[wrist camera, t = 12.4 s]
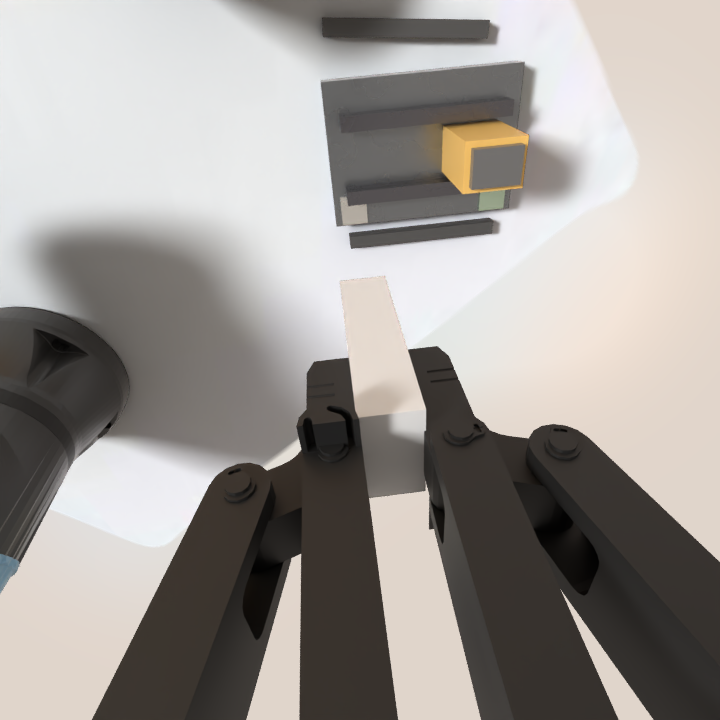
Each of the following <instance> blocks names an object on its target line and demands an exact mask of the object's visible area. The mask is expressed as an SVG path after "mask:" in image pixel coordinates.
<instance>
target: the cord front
mask: <svg viewBox="0 0 720 720" xmlns="http://www.w3.org/2000/svg"><path fill="white" fill-rule="evenodd" d="M489 23H490V20H457V19H379V18H322V26H323V37H392V38H487V37H488V30H489Z"/></svg>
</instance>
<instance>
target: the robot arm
mask: <svg viewBox="0 0 720 720" xmlns="http://www.w3.org/2000/svg"><path fill="white" fill-rule="evenodd" d="M340 288H341V296H342V305H343V314H344V323H345V331H346V340H347V349H348V357H349V358H342V359H333V360H325V361H316V362H314V363H313V364H312V366H311V368H310V369H309V371H308V373H307V410H306V411H305V412H304V413H303V414H302V415H301V416H300V417H299V420H298V423H297V431H298V435H299V440H300V444H301V449H302V450H301V451H300V452H299V454H298V455H297V456H296V457H294V458H293V459H292V460H290V461H289V462H287V463H285V464H283V465H281V466H278V467H276V468H273V469H270V470H268V471H267V470H265V469H264V468H263V467H262V466H260V465H256V464H252V463H243V464H237V465H234V466H232V467H229V468H226V469H225V470H224V471H222V472H221V473H220V474H218V475H217V476H216V477H215V478H214V480H213V481H212V482H211V484H210V485H209V487H208V489H207V491H206V493H205V495H204V497H203V499H202V501H201V503H200V505H199V507H198V509H197V511H196V513H195V515H194V517H193V519H192V521H191V523H190V525H189V527H188V529H187V531H186V533H185V535H184V537H183V539H182V541H181V543H180V545H179V547H178V549H177V551H176V553H175V555H174V557H173V559H172V561H171V563H170V565H169V567H168V569H167V571H166V573H165V575H164V577H163V579H162V581H161V583H160V585H159V587H158V589H157V591H156V593H155V595H154V597H153V599H152V601H151V603H150V605H149V607H148V609H147V611H146V613H145V615H144V617H143V619H142V621H141V623H140V625H139V627H138V629H137V631H136V633H135V635H134V637H133V639H132V641H131V643H130V645H129V647H128V649H127V651H126V653H125V655H124V657H123V659H122V661H121V663H120V665H119V667H118V669H117V671H116V673H115V675H114V677H113V679H112V681H111V683H110V685H109V687H108V689H107V691H106V693H105V695H104V697H103V699H102V701H101V703H100V705H99V707H98V709H97V711H96V713H95V715H94V717H93V719H92V720H246V718H247V715H248V711H249V707H250V704H251V701H252V697H253V693H254V690H255V686H256V683H257V679H258V676H259V672H260V669H261V665H262V661H263V658H264V654H265V651H266V647H267V644H268V640H269V637H270V633H271V630H272V626H273V623H274V619H275V615H276V612H277V608H278V605H279V601H280V598H281V594H282V590H283V587H284V583H285V580H286V577H287V573H288V569H289V566H290V562H291V558H292V557H295V556H297V555H299V554H301V632H300V634H301V635H300V637H301V638H300V639H301V640H300V720H398V716H397V708H396V701H395V693H394V686H393V678H392V670H391V663H390V656H389V648H388V640H387V633H386V625H385V618H384V610H383V602H382V594H381V587H380V580H379V571H378V564H377V557H376V549H375V542H374V533H373V526H372V518H371V511H370V503H369V498H373V497H381V496H389V495H397V494H404V493H413V492H420V491H425V480H426V484H427V488H428V491H429V495H430V497H429V529H434V530H435V535H436V538H437V542H438V546H439V550H440V555H441V558H442V563H443V567H444V571H445V575H446V579H447V583H448V587H449V591H450V595H451V599H452V603H453V607H454V611H455V615H456V620H457V624H458V627H459V632H460V636H461V640H462V644H463V648H464V652H465V656H466V660H467V664H468V668H469V672H470V676H471V680H472V684H473V688H474V692H475V697H476V700H477V705H478V709H479V713H480V717H481V720H618V717H617V715H616V713H615V711H614V709H613V706H612V704H611V702H610V700H609V697H608V695H607V693H606V691H605V688H604V686H603V684H602V682H601V679H600V677H599V675H598V673H597V671H596V668H595V666H594V664H593V661H592V659H591V657H590V655H589V652H588V650H587V648H586V646H585V643H584V641H583V639H582V637H581V634H580V632H579V630H578V628H577V625H576V623H575V621H574V619H573V616H572V614H571V612H570V610H569V607H568V605H567V603H566V601H565V598H564V596H563V594H562V592H563V593H564V595H565V596H566V597H567V599H568V600H569V602H570V603H571V604H572V606H573V607H574V609H575V610H576V611H577V613H578V614H579V616H580V617H581V618H582V620H583V621H584V623H585V624H586V625H587V627H588V628H589V630H590V631H591V632H592V634H593V635H594V637H595V638H596V639H597V641H598V642H599V644H600V645H601V646H602V648H603V649H604V651H605V652H606V653H607V655H608V656H609V658H610V659H611V661H612V662H613V663H614V665H615V666H616V668H617V669H618V670H619V672H620V673H621V675H622V676H623V677H624V679H625V680H626V681H627V683H628V684H629V686H630V687H631V689H632V690H633V691H634V693H635V694H636V696H637V697H638V698H639V700H640V701H641V702H642V704H643V705H644V707H645V708H646V710H647V711H648V712H649V714H650V715H651V717H652V718H653V719H654V720H720V562H719V561H718V560H717V559H716V558H715V557H714V556H713V555H712V554H711V553H710V552H708V551H707V550H706V549H705V548H704V547H703V546H702V545H701V544H700V543H699V542H698V541H697V540H696V539H694V537H693V536H692V535H690V534H689V533H688V532H687V531H686V530H685V529H684V528H683V527H682V526H681V525H680V524H679V523H678V522H677V521H676V520H675V519H674V518H673V517H672V516H670V515H669V514H668V513H667V512H666V511H665V510H664V509H663V508H662V507H661V506H660V505H659V504H658V503H657V502H656V501H655V500H654V499H653V498H651V497H650V496H649V495H648V494H647V493H646V492H645V491H644V490H643V489H642V488H641V487H640V486H639V485H638V484H637V483H636V482H634V481H633V480H632V479H631V478H630V477H629V476H628V475H627V474H626V473H625V472H624V471H623V470H622V469H621V468H620V467H619V466H618V465H617V464H616V463H614V461H612V460H611V459H610V458H609V457H608V456H607V455H606V454H605V453H604V452H603V451H602V450H601V449H600V448H599V447H598V446H597V445H596V444H595V443H593V442H592V441H591V440H590V439H589V438H588V437H587V436H585V435H584V434H583V433H581V432H579V431H578V430H576V429H573V428H571V427H568V426H563V425H556V424H552V425H545V426H541V427H539V428H538V429H536V430H534V431H533V433H532V434H531V436H530V437H529V439H527V438H520V437H512V436H506V435H500V434H498V433H495V432H492V431H490V430H489V429H488V428H487V426H486V425H485V424H484V423H483V422H482V421H480V420H479V419H477V418H476V417H475V416H474V414H473V412H472V409H471V407H470V405H469V403H468V400H467V398H466V396H465V393H464V391H463V388H462V386H461V384H460V381H459V380H458V377H457V374H456V372H455V370H454V367H453V365H452V363H451V360H450V358H449V356H448V355H447V354H446V353H445V352H443V351H442V350H441V349H440V348H439V347H437V346H436V347H426V348H418V349H409V350H408V349H407V346H406V342H405V339H404V336H403V333H402V329H401V326H400V323H399V320H398V316H397V313H396V310H395V307H394V303H393V300H392V297H391V294H390V290H389V287H388V284H387V281H386V277H385V276H379V277H370V278H361V279H352V280H343V281H340ZM128 396H129V381H128V376H127V373H126V370H125V368H124V366H123V364H122V362H121V361H120V359H119V358H118V356H117V355H116V353H115V352H114V351H113V350H112V349H111V348H110V347H109V345H108V344H107V343H105V342H104V341H103V340H102V339H101V338H100V337H98V336H97V335H96V334H95V333H93V332H92V331H90V330H89V329H87V328H86V327H84V326H82V325H80V324H79V323H77V322H75V321H73V320H70V319H68V318H66V317H63V316H61V315H58V314H55V313H51V312H48V311H44V310H39V309H33V308H24V307H6V308H0V593H1V592H2V590H3V588H4V587H5V585H6V584H7V582H8V580H9V578H10V577H11V576H13V575H14V574H15V573H16V572H17V569H18V567H19V564H20V562H21V560H22V558H23V557H24V555H25V553H26V551H27V549H28V547H29V545H30V543H31V541H32V539H33V537H34V536H35V534H36V532H37V530H38V528H39V526H40V524H41V522H42V520H43V518H44V516H45V514H46V512H47V511H48V509H49V507H50V505H51V503H52V501H53V499H54V497H55V495H56V493H57V491H58V489H59V487H60V486H61V484H62V482H63V480H64V478H65V476H66V474H67V472H68V470H69V468H70V466H71V465H72V463H73V461H74V460H75V459H76V458H78V457H79V456H80V455H81V454H82V453H83V452H85V451H86V450H87V449H88V448H89V447H91V446H92V445H93V444H94V443H95V442H96V441H97V440H98V439H99V438H101V437H102V436H103V435H105V434H106V433H107V432H108V431H109V430H110V429H111V428H112V427H113V426H114V425H115V423H116V422H117V420H118V419H119V417H120V415H121V413H122V411H123V409H124V407H125V405H126V402H127V400H128ZM560 589H561V590H562V592H561V590H560Z"/></svg>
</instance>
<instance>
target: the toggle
mask: <svg viewBox="0 0 720 720" xmlns="http://www.w3.org/2000/svg"><path fill="white" fill-rule="evenodd" d="M528 140H529V135H528V134H526V133H524V132H522V131H520V130H518V129H516V128H513V127H511V126H509V125H507V124H505V123H503V122H501V121H499V120H489V121H479V122H469V123H459V124H450V125H443V141H442V172H443V173H444V174H445V176H446V177H447V178H448V179H449V180H450V181H451V182H452V183H453V184H454V185H455V186H456V188H457V189H458V190H459V191H460V192H461V193H462V194H470V193H479V192H489V191H498V190H508V189H517V188H522V187H523V179H524V171H525V163H526V155H527V147H528Z"/></svg>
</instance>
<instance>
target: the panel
mask: <svg viewBox="0 0 720 720" xmlns="http://www.w3.org/2000/svg"><path fill="white" fill-rule="evenodd" d="M524 64H525V62H522V61H509V62H499V63H489V64H479V65H469V66H459V67H449V68H439V69H429V70H419V71H409V72H399V73H388V74H378V75H368V76H358V77H348V78H338V79H328V80H321V89H322V98H323V107H324V117H325V126H326V135H327V144H328V153H329V162H330V171H331V180H332V189H333V198H334V207H335V216H336V224H337V226H346V225H356V224H365V223H374V222H384V221H393V220H402V219H411V218H421V217H430V216H439V215H449V214H458V213H467V212H476V211H486V210H495V209H504V208H508V207H509V198H510V189H508V190H498V191H489V192H479V193H470V194H462V193H461V192H460V191H459V190H458V189H457V188H456V186H455V185H454V184H453V183H452V182H451V181H450V180H449V179H448V178H447V177H446V176H445V174H444V173H443V172H442V141H443V125H450V124H459V123H469V122H479V121H489V120H499V121H501V122H503V123H505V124H507V125H509V126H511V127H513V128H516V129H517V126H518V117H519V108H520V99H521V90H522V82H523V73H524Z"/></svg>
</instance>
